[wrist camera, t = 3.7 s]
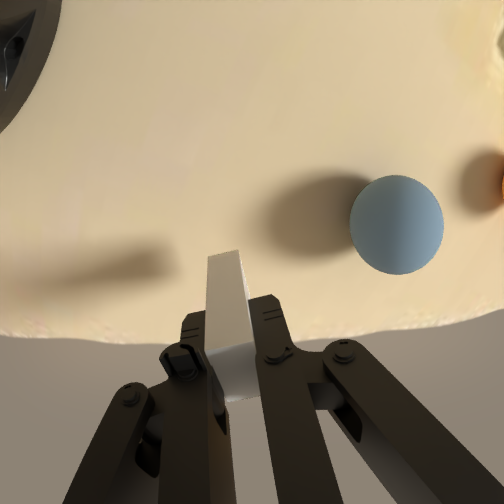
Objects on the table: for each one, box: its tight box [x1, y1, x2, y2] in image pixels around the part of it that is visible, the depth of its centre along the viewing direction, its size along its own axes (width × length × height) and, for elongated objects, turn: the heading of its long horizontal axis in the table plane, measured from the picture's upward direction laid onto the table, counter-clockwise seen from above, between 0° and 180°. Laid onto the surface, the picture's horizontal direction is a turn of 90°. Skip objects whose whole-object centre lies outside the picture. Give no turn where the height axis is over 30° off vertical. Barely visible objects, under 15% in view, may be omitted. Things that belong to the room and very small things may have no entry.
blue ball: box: [349, 175, 444, 275], centre depth 16 cm, size 6×6×6 cm
